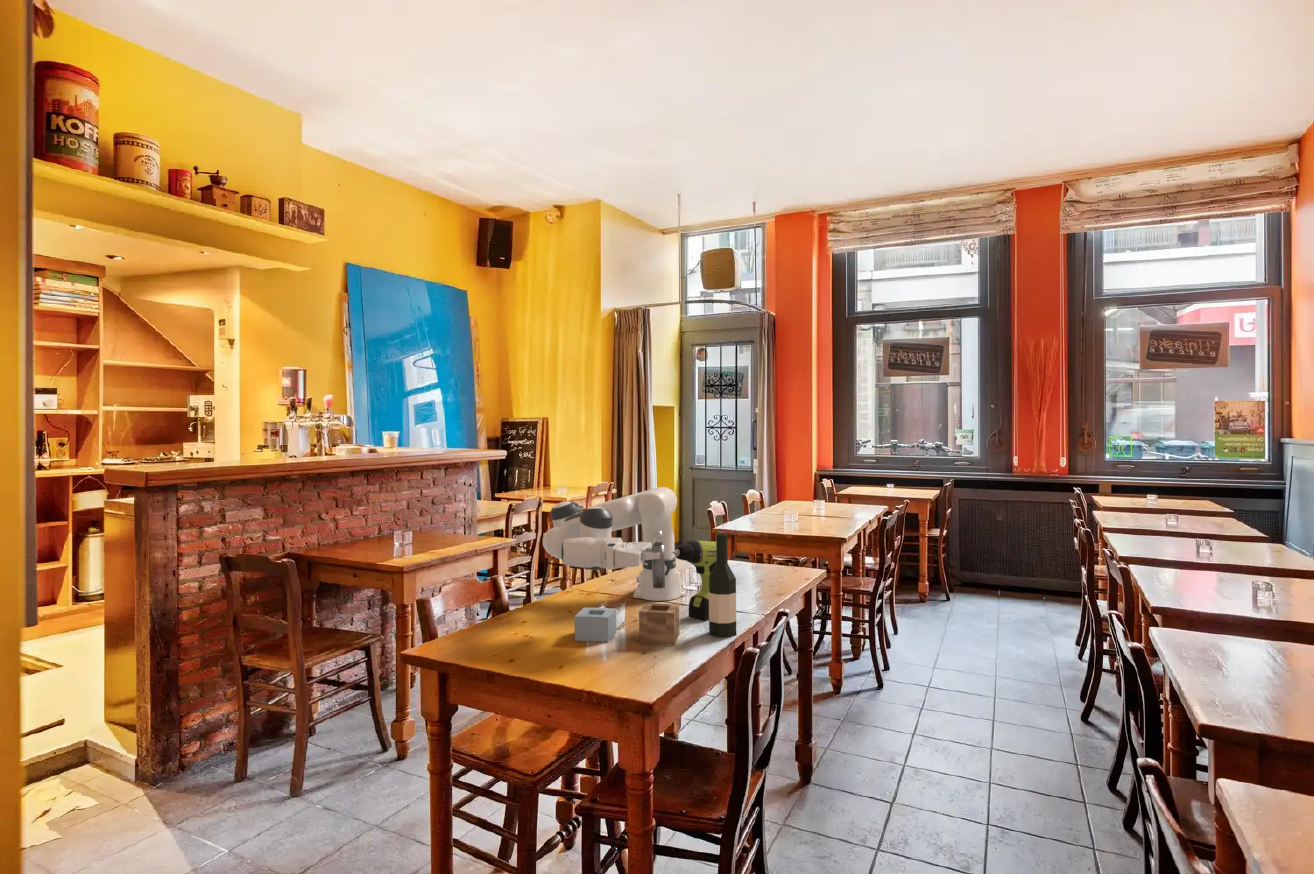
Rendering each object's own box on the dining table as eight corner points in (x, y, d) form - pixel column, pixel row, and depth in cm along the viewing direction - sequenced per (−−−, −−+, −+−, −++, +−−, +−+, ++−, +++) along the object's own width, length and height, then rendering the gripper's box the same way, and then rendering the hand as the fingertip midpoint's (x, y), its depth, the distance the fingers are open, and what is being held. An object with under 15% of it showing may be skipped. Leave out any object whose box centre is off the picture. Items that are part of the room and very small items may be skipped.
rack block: (646, 633, 209) (645, 603, 209) (679, 634, 208) (679, 604, 207) (639, 643, 199) (638, 611, 199) (674, 645, 198) (673, 613, 198)
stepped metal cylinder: (651, 585, 205) (650, 530, 204) (664, 585, 205) (663, 530, 205) (653, 588, 201) (652, 532, 201) (665, 588, 201) (664, 532, 201)
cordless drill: (681, 628, 214) (680, 546, 213) (664, 624, 219) (663, 543, 218) (730, 613, 230) (729, 537, 230) (713, 609, 235) (712, 534, 235)
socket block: (584, 630, 213) (584, 607, 213) (616, 631, 211) (616, 608, 211) (574, 640, 203) (574, 616, 203) (608, 642, 201) (608, 617, 201)
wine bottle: (703, 631, 210) (702, 531, 210) (728, 628, 214) (727, 529, 213) (716, 639, 203) (715, 535, 202) (742, 635, 206) (741, 533, 205)
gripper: (622, 557, 215) (667, 558, 213) (606, 570, 195) (655, 572, 193) (622, 536, 215) (667, 537, 213) (605, 548, 195) (655, 549, 193)
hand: (661, 554), depth 203 cm, fingers closed on stepped metal cylinder, 4 cm apart
